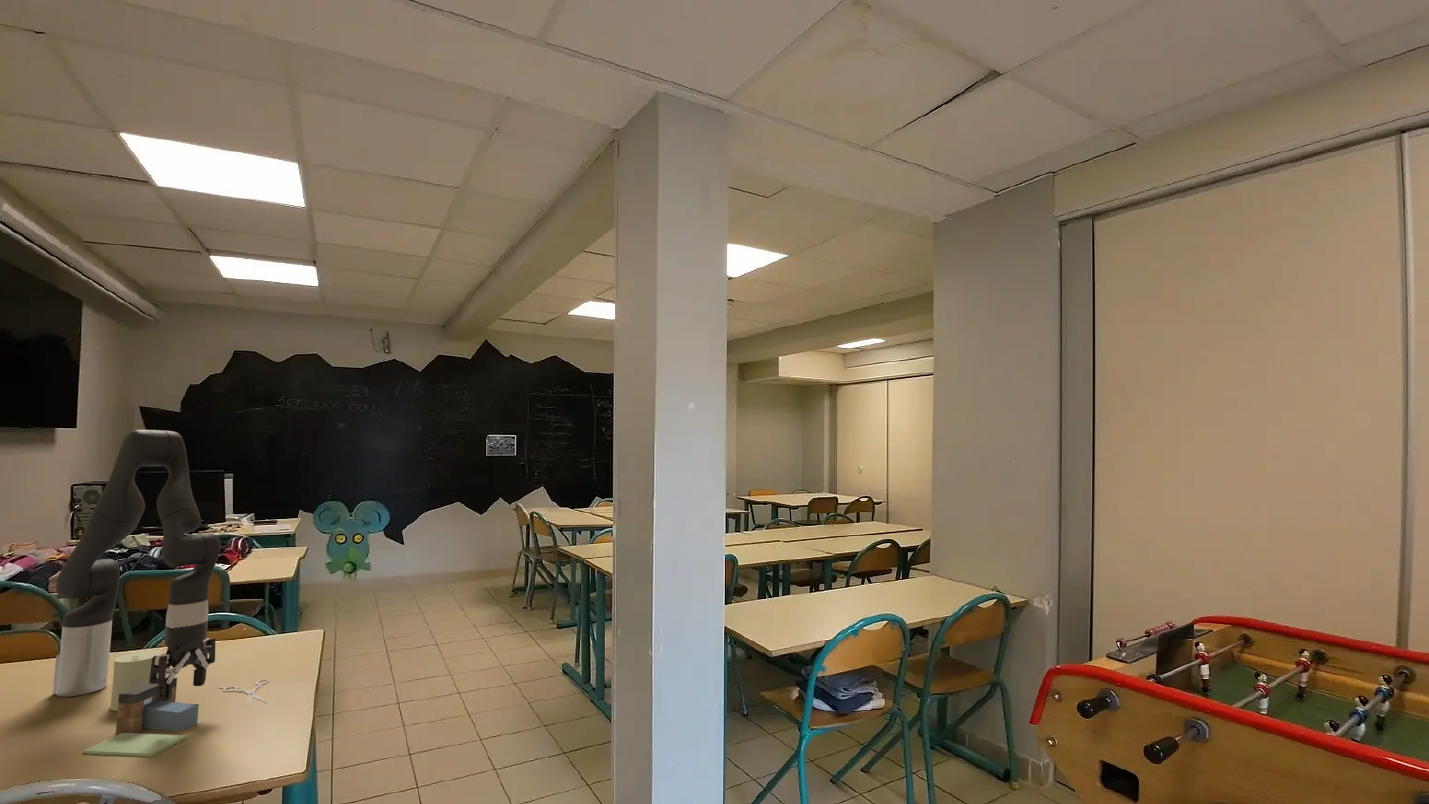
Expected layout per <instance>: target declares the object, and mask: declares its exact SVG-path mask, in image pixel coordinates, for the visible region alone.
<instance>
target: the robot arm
mask: <svg viewBox="0 0 1429 804" xmlns="http://www.w3.org/2000/svg"><path fill="white" fill-rule="evenodd" d="M114 462H115V463H114V465H113V468H112V471H111V474H110V476H109V479H108V481H107V483H106V485H105V487H104V489H103V492H102V493H101V495H100V497H99V499H98V501H97V503H96V505H95V507H94V508H93V511H92V513H91V514H90V517H89V519H88V522H87V524H86V526H85V529H84V531H83V533H82V535H81V537H80V538H79V541H78V543H77V544H76V546H75V547H74V549H73V551H72V552H71V553H70V555H69V556H68V558H67V560H66V562H64V565H63V566H62V568H61V570H60V572H59V574H58V577H57V579H56V583H55V588H56V589H55V590H56V594H57V595H58V596H59V597H60V598H61V599H65V600H76V599H83V598H89V597H90V599H89V600H88V601H87V602H85V603H84V604H83V605H81V606H79V607H77V608H74V609H73V610H71V611H68V612H66V613H65V615H64V616H63V618H62V627H61V628H62V629H61V639H60V640H61V641H60V651H59V654H58V655H56V657H55V664H54V674H53V676H54V678H53V686H52V687H53V688H52V694H54V695H56V696H57V697H62V698H63V697H75V696H76V697H77V696H82V695H86V694H91V693H93V692H97V691H99V690H102V689H104V688H106V687H107V685H108V674H109V663H110V653H111V652H110V651H111V639H112V627H113V615H114V612H115V610H116V604H117V596H118V590H119V585H120V576H121V575H120V573H121V571H120V566H119V563H118V562H117V561H116V560H115V559H111V558H101V559H99V558H100V557H102V556H103V555H104V554H105V553H107V552H108V551H109V550H111V549H112V548H114V547H115V546H117V545H118V544H119V543H121V542H122V541H123V540H125V539H126V538H127V537H129V536H130V535H131V534H132V533H133V532H134V531H135V530H136V528H137V526H138V524H139V523H140V520H142V519H141V518H142V516H143V515H144V512H145V509H146V503H145V498H144V497H143V495H142V493H141V491H140V489H139V488H138V486H137V484H136V481H135V479H136V478H135V476H136V473H137V472H138V470H139V469H140V468H142V467H145V468H147V467H149V468H150V467H152V468H155V467H165V468H166V470H167V472H168V478H167V480H166V481H165V484H164V486H163V487H162V488H161V491H160V492H159V494H158V497H157V499H156V511H157V513H158V517H159V519H160V523H161V526H162V531H163V534H162V535H163V536H162V537H163V539H162V549H161V559H162V561H163V562H164V563H165V564H166V565H167V566H169V567H172V568H180V567H181V568H182V567H186V566H193V568H192V570H191V571H189V572H188V573H185V574H183V575H179V576H177V577H174V578H173V579H172V580H171V581H170V584H169V593H168V606H167V610H166V613H165V614H166V615H165V627H164V628H165V629H164V630H165V631H164V645H165V646H166V649H167V650H166V652H165V654H163V655H158V656H153V658H152V664H151V671H150V679H149V683H150V684H158V685H159V690H158V692H159V693H158V699H159V700H160V701H168V700H170V699H171V694H172V683H171V682H172V680H173V678H175V677H176V675H177V674H179V673H180V671H181V670H182V669H183V668H185V667H187V666H189V665H192V667H194V668H195V669H194V670H193V678H192V679H193V682H192V684H193V685H192V686H194V687H201V686H203V685H205V683H206V680H207V678H206V677H207V669H208V668H209V665H211V664H214V663H215V662H216V638H214V637H213V638H211V637H210V638H209V637H207V635H208V625H209V624H208V623H209V585H210V582H211V581H210V580H211V578H212V574H213V572H214V569H215V566H216V564H217V561H218V559H219V556H220V554H221V549H222V548H221V547H222V544H221V540H220V538H219V537H218V536H217V535H216V534H214V533H208V532H206V533H198V534H197V533H196V534H189V533H191V532H194V531H196V530H197V529H198V528H199V527H200V526H201V525H202V518H201V515H200V512H199V509H198V506H197V503H196V501H195V498H194V496H193V495H194V494H193V491H192V486H191V480H190V469H189V463H188V462H189V461H188V455H187V449H186V445H185V441H184V439H183V436H182V435H181V434H180V433H179V432H177V431H173V430H172V431H171V430H160V429H159V430H158V429H157V430H156V429H134V430H131V431H130V432H128V434H126V435H125V437H124V439H123V441H122V443H121V445H120V448H119V451H118V454H117V457H116V459H115V461H114ZM208 656H209V657H208ZM171 667H172V668H171ZM157 673H158V674H159V675H158V678H157ZM166 677H167V678H166Z"/></svg>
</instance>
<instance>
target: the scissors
mask: <svg viewBox="0 0 1429 804" xmlns="http://www.w3.org/2000/svg"><path fill="white" fill-rule="evenodd" d="M261 682H262V683H261ZM268 683H270V679H267V678H266V679H265V678H264V679H260V680H257V681H256V682H255V683H254V684H255V686H257V687H254V688H253V689H251V690H239V689H240V687H239V686H235V685H234V686H227V687H225V686H218V689H219V690H222V692H223V693H231V692H232V693H233V692H235V693H243V694H245V695H247V699H246V700H247V702H246V708H248V707H249V706H250V704H251V702H252V700H253V698H254V699H256V700H259V701H262V702H264V703H267V701H266V700H264V698H262V697H261V696H259V695H258V694H257V693H256V691H257V689H260V688H261V686H264V685H266V684H268Z"/></svg>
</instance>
